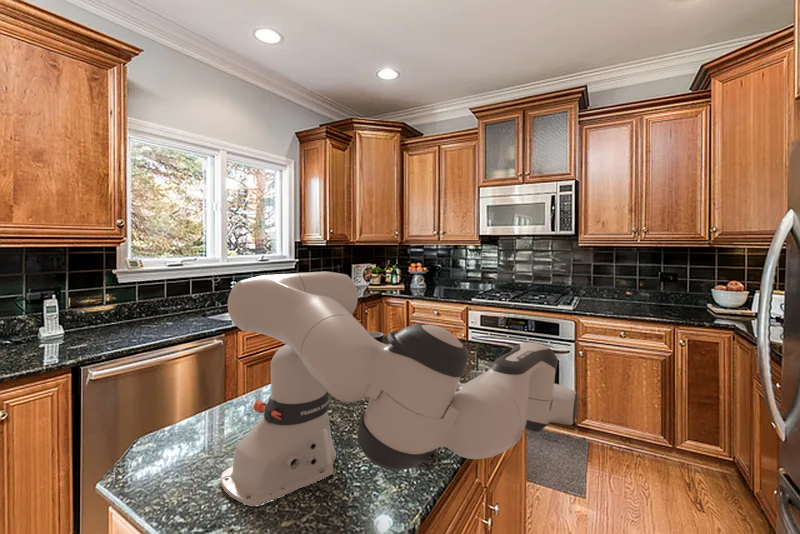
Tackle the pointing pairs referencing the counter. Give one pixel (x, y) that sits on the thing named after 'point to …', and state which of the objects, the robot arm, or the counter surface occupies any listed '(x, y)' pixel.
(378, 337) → the coffee mug
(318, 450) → the robot arm
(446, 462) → the counter surface
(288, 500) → the counter surface
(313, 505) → the counter surface
